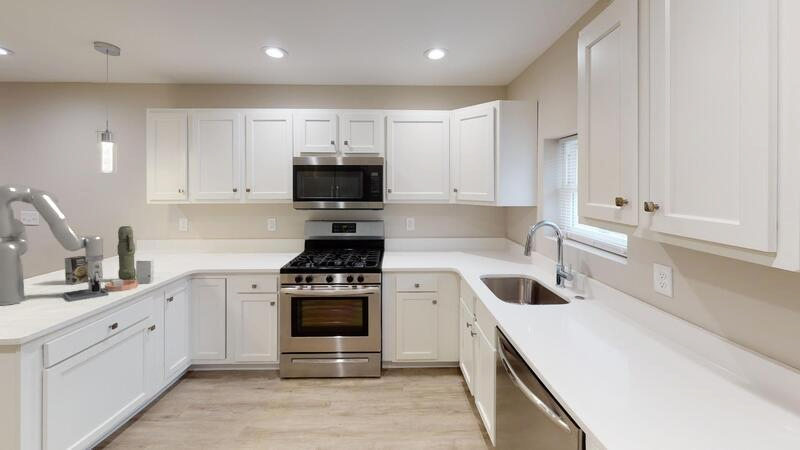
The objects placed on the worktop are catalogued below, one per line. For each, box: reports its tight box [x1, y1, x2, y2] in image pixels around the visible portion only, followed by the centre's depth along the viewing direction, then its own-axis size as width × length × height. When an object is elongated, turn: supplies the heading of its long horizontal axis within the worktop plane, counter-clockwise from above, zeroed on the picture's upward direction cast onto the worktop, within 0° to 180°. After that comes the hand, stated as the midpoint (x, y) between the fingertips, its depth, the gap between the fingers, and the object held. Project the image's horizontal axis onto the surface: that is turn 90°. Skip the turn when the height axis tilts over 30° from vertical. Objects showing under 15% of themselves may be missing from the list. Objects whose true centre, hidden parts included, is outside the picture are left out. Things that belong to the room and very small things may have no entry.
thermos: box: [116, 225, 136, 280], centre depth 231 cm, size 9×12×35 cm
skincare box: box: [135, 258, 155, 285], centre depth 228 cm, size 8×6×15 cm
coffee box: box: [64, 255, 90, 286], centre depth 223 cm, size 9×6×16 cm
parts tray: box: [63, 287, 109, 302], centre depth 198 cm, size 16×16×2 cm
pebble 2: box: [110, 278, 123, 286], centre depth 211 cm, size 4×4×5 cm
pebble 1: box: [87, 280, 102, 292], centre depth 201 cm, size 4×4×5 cm
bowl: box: [104, 280, 139, 293], centre depth 213 cm, size 15×15×4 cm
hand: (94, 290), depth 201 cm, fingers closed on pebble 1, 4 cm apart
